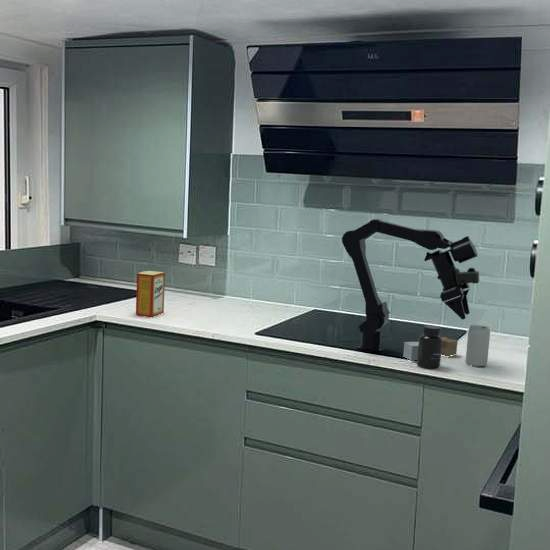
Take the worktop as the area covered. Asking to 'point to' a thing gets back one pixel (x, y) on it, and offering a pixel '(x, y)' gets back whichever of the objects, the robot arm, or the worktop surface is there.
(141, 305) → the baking soda box
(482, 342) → the beverage can
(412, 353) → the grey plastic block
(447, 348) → the walnut block
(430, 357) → the supplement bottle
